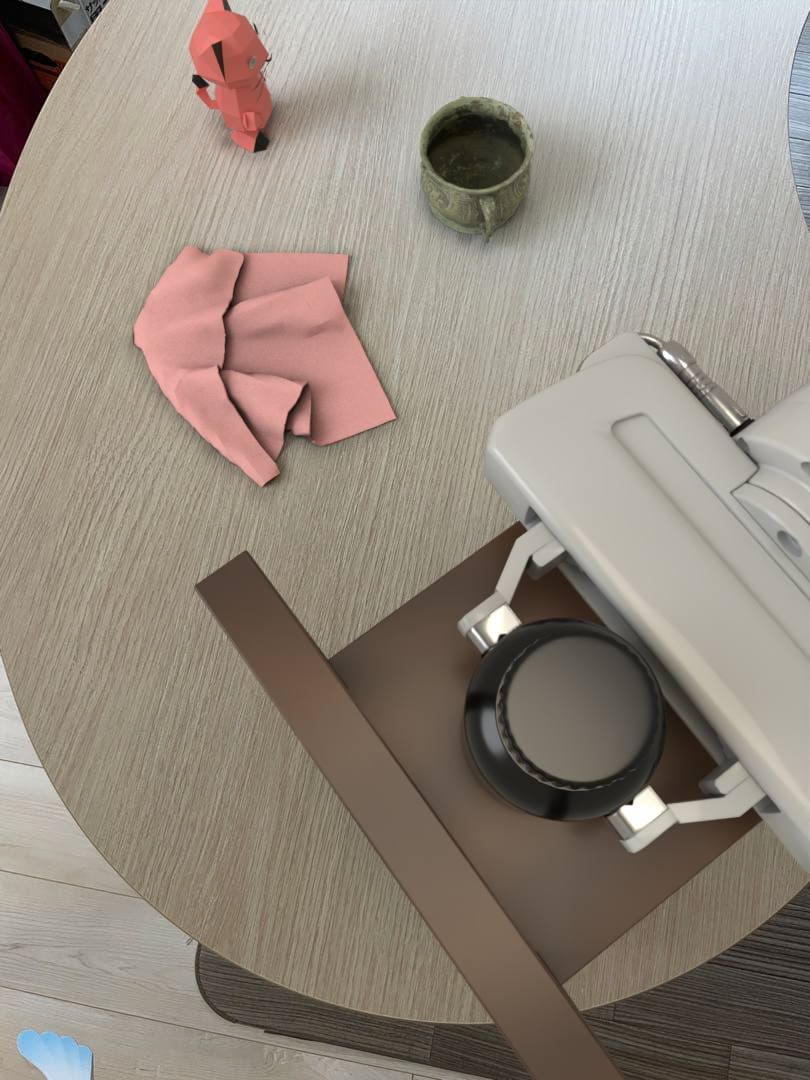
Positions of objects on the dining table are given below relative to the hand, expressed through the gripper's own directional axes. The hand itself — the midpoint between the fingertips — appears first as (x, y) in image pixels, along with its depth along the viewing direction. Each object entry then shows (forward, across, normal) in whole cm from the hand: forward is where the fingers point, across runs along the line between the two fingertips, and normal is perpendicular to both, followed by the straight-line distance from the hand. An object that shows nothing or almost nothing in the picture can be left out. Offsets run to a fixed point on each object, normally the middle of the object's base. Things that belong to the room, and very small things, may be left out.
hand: (540, 735), depth 33 cm
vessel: (-27, -37, +33) cm, 56 cm away
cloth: (-5, -35, +33) cm, 48 cm away
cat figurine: (-16, -54, +33) cm, 65 cm away
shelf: (-1, 0, +32) cm, 33 cm away
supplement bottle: (-1, 0, +7) cm, 7 cm away
